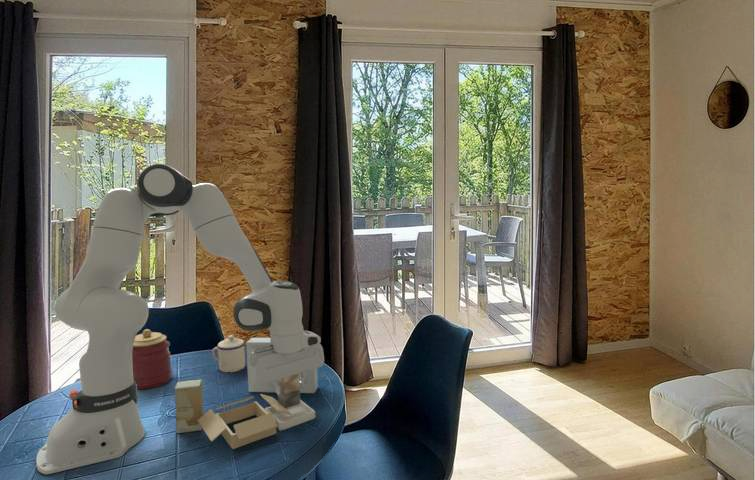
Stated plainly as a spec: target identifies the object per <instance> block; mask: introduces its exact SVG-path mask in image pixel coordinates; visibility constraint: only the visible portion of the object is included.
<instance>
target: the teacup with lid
mask: <svg viewBox="0 0 755 480" xmlns="http://www.w3.org/2000/svg"><path fill="white" fill-rule="evenodd" d="M245 345H246V343H245V340H243V339H241V338H238V337H234V335H232V334H231V335H227V338H225V339H224V340H221V341H220V342H218V344H217V346H215V347H214V348H212V351H211V355H212V357H213V359H214V360H216V361H217V362H218V365H219V366H218V367H219V368H218V369H219V370H220V372H223V373H227V372H230V373H235V372H239V371H242V370H243V369H245V367H246V356H245ZM216 350H218V351H217V352H218V355H217V354H216ZM241 369H242V370H241Z"/></svg>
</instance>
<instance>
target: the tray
mask: <svg viewBox="0 0 755 480" xmlns="http://www.w3.org/2000/svg"><path fill="white" fill-rule="evenodd" d="M263 408H264V407H263ZM264 409H265V410H266V411H267V412H268V413H272V416H273V418H274V419H275V420H276V424H277V427H276V429H278V431H280V432H282V431H285V430H287V429H290V428H292V427H295V426H299V425H301V424H303V423H306V422H309V421H311V420H315V419H316V411H315V410H314V409H313V408H312V407H310V405H308V404H307V403H306V402H304V401H303V400H302V399H301V398H300V404H297V405H294V406H291V407H288V408H285V409H287V410H288V411H289V412H290V413H291V415H289V414H285V413H281V412H278V411H277V410H276V409H275V408H274V407H273V406H271V405H270V406H267V407H265V408H264Z"/></svg>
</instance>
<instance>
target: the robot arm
mask: <svg viewBox="0 0 755 480" xmlns="http://www.w3.org/2000/svg"><path fill="white" fill-rule="evenodd" d="M179 212H181V213H183V214H184V215H185V216H186V218H187V219H188V221H189V222H190V224H191V227H192V229H193V231H194V233H195V236H196V239H197V240H198V242H199V243H200V245H201V246H202V248H203V249H204V250H205V251H206V253H209V254H210V255H212V256H216V257H220V258H222V259H223V258H224V259H226V260H228V261H230V262H232V263H235V265H236V266H237V267H238V268H239V269H240V272H241V273H242V275H243V277H244V278H245V280H246V281H247V283H248V286H250V289H251V292H250V293H249V294H247V295H245V296H244V297H242V298H240V299H239V300H238V301H237V302H236V303H235V304H234V306H233V314H232V315H233V319H234V322H235V324H236V325H237V326H238V327H239V328H240V329H241V330H244V331H246V332H257V331H263V330H269V338H270V341H271V345H270V346H266V347H263V348H258V349H256V350H255V351H254V352H253V353H252V354H251V356H250V361H251V365H252V366H251V380H252V381H253V382H254V383H255V384H257V385H262V384H266V383H269V382H272V384H273V385H274V386H275V387H276V393H275V394H277V396H278V395H280V394H283V393H284V391H283V390H284V388H283V387H282V386H279V385H278V384H277V383H279V379H282V378H286V377H289V376H292V375H296V374H299V373H300V388H302V387H304V382H303V381H304V380H305V378H306V376H307V371H309V370H312V369H316V368H317V369H318V368H322V367H323V365H324V363H325V354H324V347H323V346H322V344H321V342H322V341H321V340H322V338H321V336H319V335H318V334H316V333H314V332H313V331H309V330H304V325H303V322H302V321H303V320H302V318H303V315H304V314H303V301H302V295H301V291H300V287H299V286H298V285H297V284H296V283H294V282H291V281H288V280H276V281H274V280H273V278H272V277H271V276H270V274H269V272H268V270H267V269H266V267H265V265H264V262H263V261H262V259H261V258H260V256H259V254H258V252H257V251H256V249H255V247H254V245H252V243H251V242H250V240H249V239H248V237H247V236H246V234H245V233H244V231H243V229H242V228H241V225H240V224H239V222H238V220H237V216H235V213H234V212H233V209H232V208H231V206H230V204H229V202H228V200H227V199H226V197H225V196H224V194H223V192H221V190H220V188H219V187H218V186H216V185H215V184H214V183H210V182H209V183H208V182H202V183H197V184H194V185H193V182H192V180H190V179H189V178H187V177H186V176H185V175H183V173H181V172H180V171H178V170H177V169H176V168H173V167H172V166H169V165H167V164H162V163H154V164H151V165H149V166H147V167H145V168H143V170H142V171H141V172H140V173H139V175H138V177H137V180H136V187H135V188H126V187H118V188H117V187H116V188H112V189H109V190H108V191H106V192H105V194H104V195H103V197H102V199H101V201H100V204H99V206H98V208H97V212H96V214H95V216H94V217H95V218H94V221H93V224H92V227H91V229H92V230H91V233H90V237H89V241H88V245H87V249H86V254H85V257H84V258H83V259H84V260H83V262H82V264H81V266H80V268H79V270H78V272H77V274H76V275H75V278H74V280H73V281H72V283H71V284H70V285H69V286H68V288H66V289H65V290H64V291H63V292H62V293H61V294H60V295H59V296H58V298H56V302H55V305H54V312H55V315H56V317H57V318H58V320H60V322H62V323H64V324H65V325H66V326H68V327H70V328H72V329H74V330H77V331H78V330H80V331H85V332H87V333H88V337H89V338H88V339H89V340H88V344H87V345H88V346H87V349H86V352H85V353H84V354H83V355H82V356H81V357H80V359H79V363H78V365H79V366H78V367H79V378H80V385H81V386H80V387H81V390H80V391H79V390H78V389H73V390H71V391H70V392H69V399H70V400H71V404H72V409H71V410H69V411H68V412H67V413H66V414H65V415H64V416H63V417H62V418H60V419H59V420H58V421H57V422H56V423H54V425H53V426H52V427H51V429H50V431H49V432H48V433H49V434H48V437H47V440H46V443H45V444H44V445H43V446H42V447H41V448H40V449H39V451H38V452H37V454H36V458H35V466H36V469H37V471H38V472H39V473H41V474H43V475H51V474H55V473H59V472H63V471H67V470H68V471H69V470H72V469H75V468H81V467H84V466H89V465H92V464H97V463H101V462H106V461H109V460H115V459H118V458H121V457H122V456H124V455H125V454H126V452H127V451H128V450H129V449H131V448H132V447H134V446H135V445H136V444H138V443H139V442H141V441H142V439H143V438H144V437H145V435H146V428H145V427H144V424H143V422H142V419H141V416H140V412H139V409H138V408H139V407H138V398H139V396H138V395H139V394H138V389H137V384H136V382H135V379H134V377H133V362H132V350H133V344H134V340H135V337H136V336H137V335H138V332H139V331H141V330H142V329H143V327H144V326H145V324H146V323H147V321H148V318H149V313H150V312H149V311H150V310H149V305H148V302H147V301H146V300H145V299H144V298H143V297H142V296H140V295H138V294H137V293H134V292H132V291H130V290H128V289H127V290H126V289H121V288H120V287H121V285H122V283H123V281H124V280H125V278H126V276H127V275H128V274H129V273H130V272H131V271H134V269H135V268H136V267H137V265H138V262H139V256H140V251H141V247H142V241H143V237H144V233H145V226H146V223H147V221H148V218H151V217H163V216H170V215H171V216H172V215H174V214H177V213H179ZM255 352H256V353H255Z"/></svg>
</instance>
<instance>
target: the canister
mask: <svg viewBox="0 0 755 480" xmlns="http://www.w3.org/2000/svg"><path fill="white" fill-rule="evenodd" d="M170 345H171V343H170V341H169V340H167V335H165V334H163V333H161V332H159V331H158V332H156V331H151V329H148V328H146V329H143V331H142V332H141V333H140V334H136V337H135V340H134V344H133V350H132V362H133V377H134V379H135V382H136V384H137V390H147V389H148V390H149V389H153V388H157V387H160V386H162V385H165V384H167V383H168V382H170V380H171V379H172V375H173V369H172V362H171V361H172V360H171V351H169V350H170V349H169V347H170Z"/></svg>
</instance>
